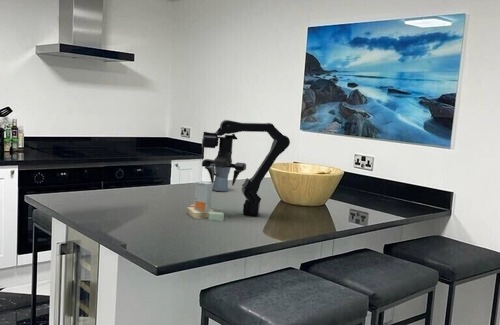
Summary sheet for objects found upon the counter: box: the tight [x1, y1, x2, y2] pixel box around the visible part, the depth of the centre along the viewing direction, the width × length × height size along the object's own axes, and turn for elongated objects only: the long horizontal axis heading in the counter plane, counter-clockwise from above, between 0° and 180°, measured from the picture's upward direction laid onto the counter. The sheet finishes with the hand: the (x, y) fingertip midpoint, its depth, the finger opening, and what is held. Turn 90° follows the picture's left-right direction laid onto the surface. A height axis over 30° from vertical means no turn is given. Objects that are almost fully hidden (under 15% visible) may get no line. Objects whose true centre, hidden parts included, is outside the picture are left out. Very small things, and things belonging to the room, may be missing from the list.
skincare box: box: [193, 180, 214, 212], centre depth 209 cm, size 6×4×12 cm
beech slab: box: [186, 207, 217, 220], centre depth 210 cm, size 10×10×2 cm
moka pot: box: [212, 159, 233, 193], centre depth 269 cm, size 10×15×20 cm, turn 148°
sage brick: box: [207, 211, 225, 222], centre depth 205 cm, size 6×3×3 cm, turn 102°
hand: (222, 184), depth 215 cm, fingers open, 9 cm apart
